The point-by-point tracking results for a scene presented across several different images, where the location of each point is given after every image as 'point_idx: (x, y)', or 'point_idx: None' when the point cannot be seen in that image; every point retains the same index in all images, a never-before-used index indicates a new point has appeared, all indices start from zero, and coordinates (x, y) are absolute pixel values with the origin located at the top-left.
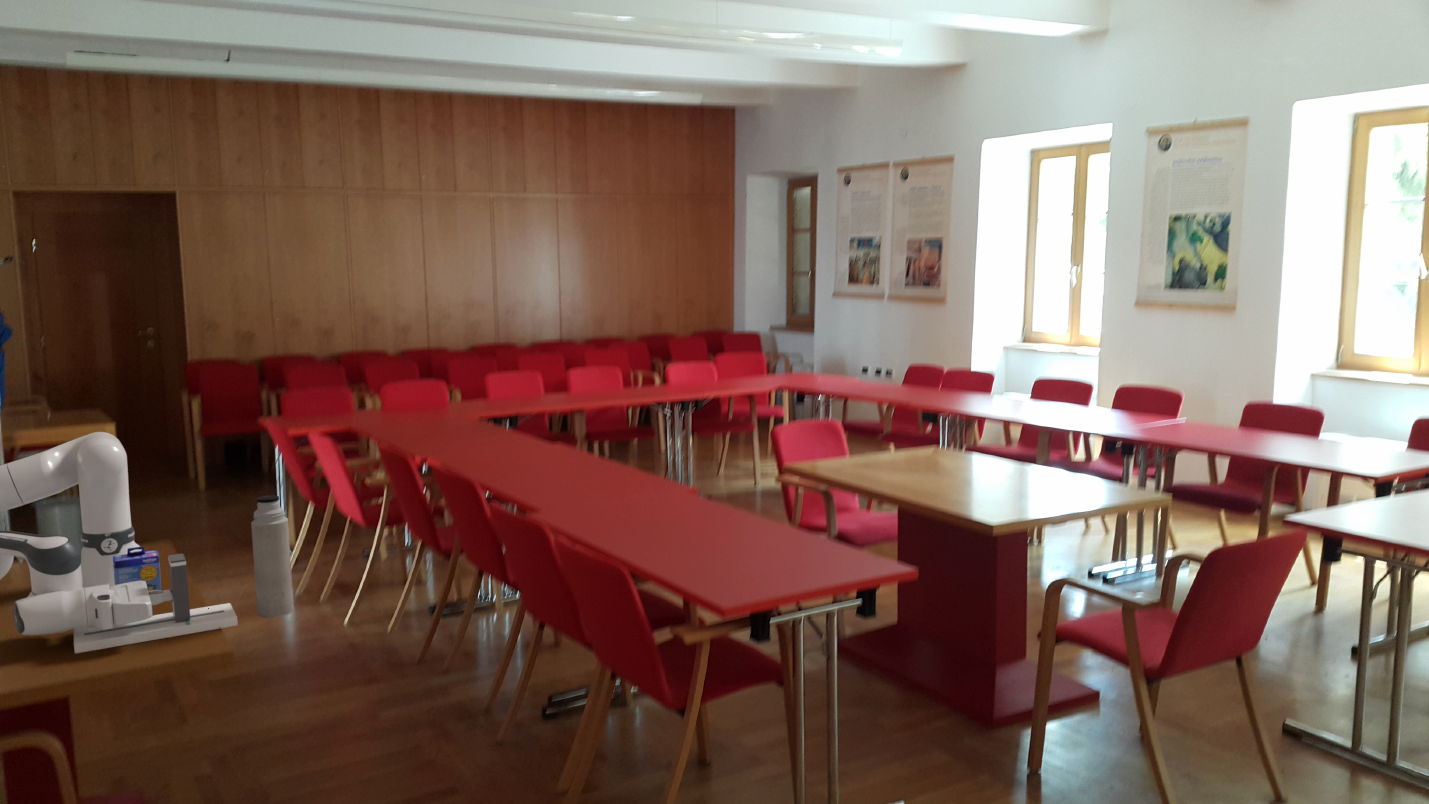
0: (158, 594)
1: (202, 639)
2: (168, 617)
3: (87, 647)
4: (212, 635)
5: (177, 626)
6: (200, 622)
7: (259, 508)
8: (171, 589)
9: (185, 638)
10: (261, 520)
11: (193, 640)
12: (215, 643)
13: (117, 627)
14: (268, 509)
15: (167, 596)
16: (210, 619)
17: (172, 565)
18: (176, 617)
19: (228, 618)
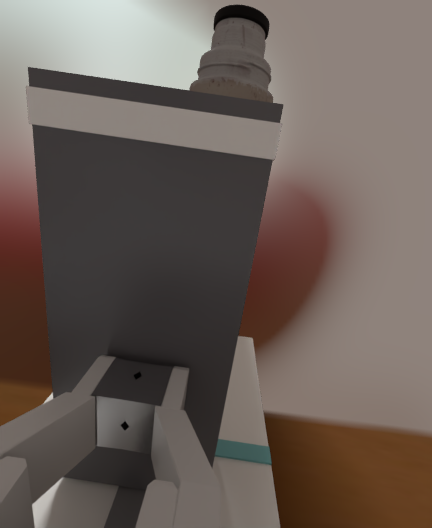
0: (186, 448)
1: (350, 459)
2: (59, 515)
3: None
4: (313, 422)
5: (268, 509)
6: (255, 412)
7: (250, 41)
8: (89, 350)
9: (322, 517)
10: (262, 79)
11: (358, 492)
12: (400, 436)
13: None
14: (263, 56)
15: (182, 408)
16: (238, 381)
17: (274, 150)
18: None
19: (253, 351)
